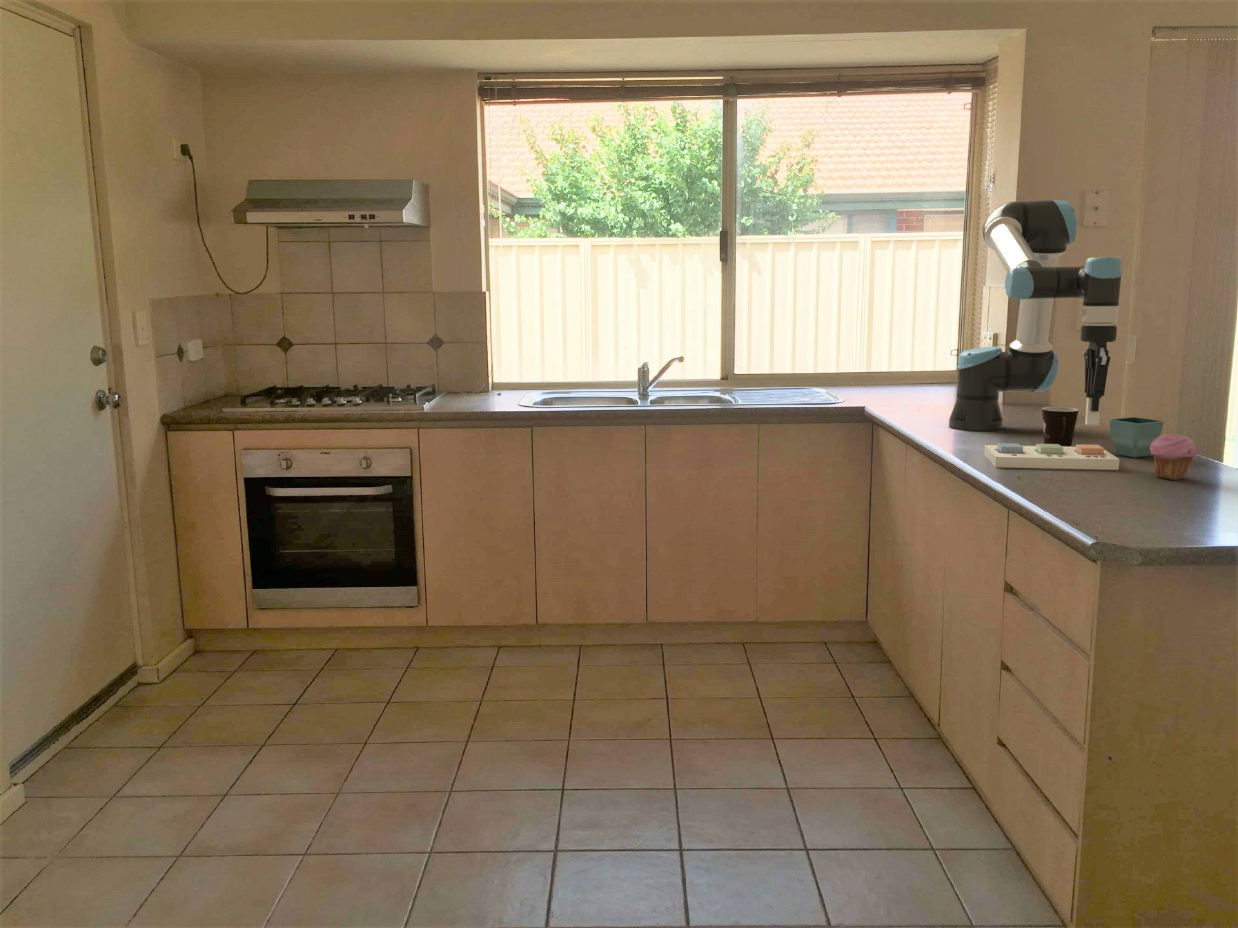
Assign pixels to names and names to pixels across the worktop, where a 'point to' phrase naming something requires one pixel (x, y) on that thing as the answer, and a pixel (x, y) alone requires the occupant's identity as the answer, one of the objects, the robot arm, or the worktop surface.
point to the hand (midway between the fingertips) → (1091, 424)
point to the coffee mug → (1059, 425)
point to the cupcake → (1172, 455)
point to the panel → (1051, 459)
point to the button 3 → (1089, 450)
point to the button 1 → (1009, 448)
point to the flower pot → (1134, 435)
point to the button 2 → (1049, 449)
